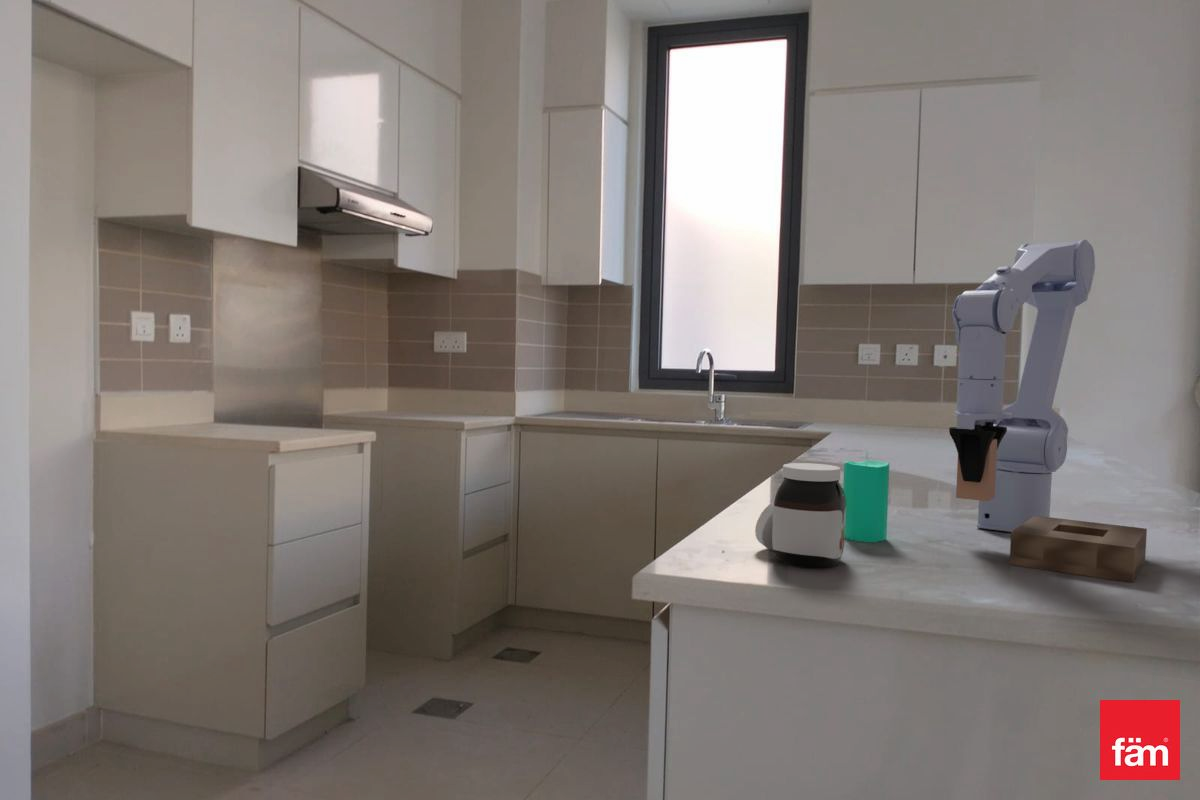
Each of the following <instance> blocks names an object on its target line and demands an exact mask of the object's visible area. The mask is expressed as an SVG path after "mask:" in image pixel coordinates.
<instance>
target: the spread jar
mask: <svg viewBox="0 0 1200 800" xmlns="http://www.w3.org/2000/svg"><path fill="white" fill-rule="evenodd" d="M782 475H783V476H782V478H783V477H784V478H783V480H782V481H781V482H780V483H779V485H780V486H779V485H778V486H779V488H778V487H777V489H778V490H776V494H775V496H774V501H772V502H770V503H769V504H768V505H767V506H766V507H765V508H764V509H763V510H762V512H761V513H760V515H759V516H758V518H757V521H756V525H755V530H754V531H755V533H754V534H755V537H756V540H757V542H759V544H761V545H762V546H764V547H765V548H766V549H768V550H771V551H773V554H774V556H775V557H776V558H777V560H779V561H780V562H781V563H784V564H786V565H789V566H794V567H800V568H806V569H808V568H809V569H826V568H832V567H833V568H834V567H835V566H837V565H838V564H839V563H840V562H841V559H842V558H843V553H844V549H845V543H846V539H845V526H846V497H845V493H844V490H843V486H842V485H841V484H840V480H841V467H839V466H838V465H837V466H836V465H831V464H824V463H813V462H812V463H809V462H807V463H805V462H803V463H802V462H801V463H800V462H799V463H798V462H795V463H794V462H793V463H792V462H791V463H785V464H783V465H782Z"/></svg>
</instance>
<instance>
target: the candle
mask: <svg viewBox="0 0 1200 800" xmlns="http://www.w3.org/2000/svg"><path fill="white" fill-rule="evenodd" d="M868 453H869V452H868V451H866V456H865V460H864V461H859V462H858V461H857V462H855V461H852V460H847V461H845V462H844V464H843V479H842V480H843V482H842V483H843V486H842V488H843V490H844V493H845V497H846V526H845V538H846V539H845V540H849V539H850V541H853V540H855V541H854V542H861V541H862V542H861V543H878V542H877V541H882V542H884V541H883V540H885V539H886V540H887V532H888V531H887V530H888V508H889V486H890V485H889V482H890V481H889V480H890V462H885V461H880V460H868ZM886 540H885V541H886ZM863 541H864V542H863Z"/></svg>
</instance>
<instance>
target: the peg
mask: <svg viewBox="0 0 1200 800" xmlns="http://www.w3.org/2000/svg"><path fill="white" fill-rule="evenodd" d="M996 457H997V439H993V440H992V442H991V445H990V447H989V450H988V453H987V457H986V462H985V467H984V472H983V476H982V479H981V482H969V481H963V477H962V473H961V467H960V461H959V456H958V455H957V463H956V464H957V466H956V467H957V468H956V489H955V493H956V494H955V498H956V499H961V500H962V499H963V500H964V499H965V500H973V501H979V500H980V501H989V500H991V499H993V498H995V478H996Z"/></svg>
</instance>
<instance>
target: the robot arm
mask: <svg viewBox="0 0 1200 800" xmlns="http://www.w3.org/2000/svg"><path fill="white" fill-rule="evenodd" d="M1095 260H1096V258H1095V249H1094V246H1093V245H1092V244H1091V243H1090V241H1089V240H1087V239H1080V240H1079V241H1078V240H1076V241H1062V242H1061V241H1060V242H1051V243H1050V242H1049V243H1037V244H1030V243H1023V244H1021V245H1020V247H1019V248H1017V249H1016V253H1015V256H1014V265H1013V266H1012V267H1011V266H1008V265H1007V266H999V267H997V268H996V270H995V273H993V275H991V276H990V277H988V279H987V280H985V281H983V282H982V284H981V285H980V286H978V287H977V288H976V289H975V290H973V289H972V290H964V291H963V292H962V294H959V295H958V296H957V297H956V299H955V300H954V303H953V308H952V310H951V311H952V312H951V314H952V315H951V316H952V323H953V327H954V330H955V332H954V333H955V336H954V337H955V338H954V340H955V344H956V345H959V347H958V365H957V366H958V368H957V371H958V372H957V388H956V389H957V390H956V410H955V411H954V417H955V418H956V426H950V427H949V430H948V432H949V435H950V437H951V438H952V441H953V443H954V446H955V448H956V451H957V452H956V453H957V457H958V456H959V461H960V467H961V473H962V477H963V481H969V482H981V479H982V476H983V472H984V467H985V462H986V457H987V453H988V450H989V447H990V445H991V442H992V440H993V439H997V457H996V478H995V498H993V499H991V500H989V501H980V500H978V511H977V512H978V513H977V514H978V515H977V524H976V528H978V529H985V530H994V531H1001V532H1007V533H1011V532H1012V531H1013V530H1015V529H1016V528H1018V527H1019V526H1021V525H1022V524H1024V523H1025V522H1027V521H1028V520H1029V519H1031V518H1032V517H1034V516H1042V517H1050V516H1051V500H1052V499H1051V496H1052V481H1053V480H1052V477H1053V476H1052V475H1053V473H1054V472H1057V471H1058V470H1059V469H1060V468H1061V467H1062V466H1063V464H1064V463H1065V461H1066V458H1067V453H1068V434H1069V428H1068V425H1067V422H1066V421H1065V419H1064V417H1062V416H1061V415H1060V414H1059V413H1058V412H1057V411H1055V410H1054V409H1053V404H1054V400H1055V396H1056V392H1057V387H1058V384H1059V379H1060V374H1061V369H1062V366H1063V361H1064V358H1065V352H1066V348H1067V344H1068V340H1069V335H1070V333H1071V332H1070V331H1071V327H1072V323H1073V319H1074V315H1075V312H1076V308H1077V307H1078V306H1080V305H1082V304H1083V303H1085V302H1087V301H1088V298H1089V293H1090V292H1091V288H1092V285H1093V284H1092V283H1093V280H1094V276H1095V270H1096V261H1095ZM1025 303H1026V304H1029V305H1030V306H1032V307H1034V308H1036V309H1037V313H1036V314H1037V315H1036V318H1035V323H1034V326H1033V331H1032V335H1031V338H1030V342H1029V347H1028V351H1027V355H1026V360H1025V362H1024V367H1023V371H1022V375H1021V379H1020V383H1019V388H1018V392H1017V396H1016V398H1015V399H1016V400H1015V402H1013V403H1012V404H1010V405H1008V406H1005V407H1004V389H1005V388H1004V387H1005V380H1004V379H1005V368H1006V366H1005V365H1006V348H1007V347H1006V343H1007V342H1006V341H1007V332H1009V331H1012V330H1013V326H1014V324H1015V319H1016V317H1017V315H1018V312H1019V309H1020V307H1022V306H1023V305H1024V304H1025ZM1003 407H1004V408H1003Z"/></svg>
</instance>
